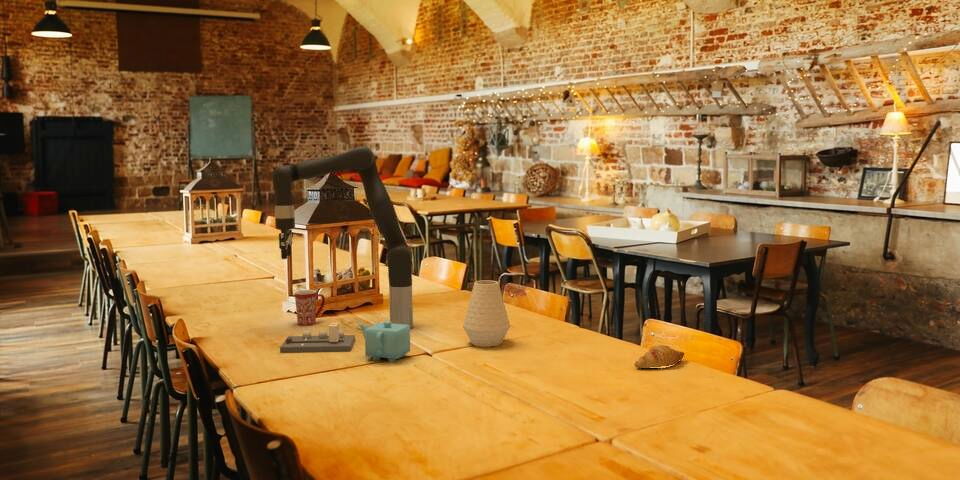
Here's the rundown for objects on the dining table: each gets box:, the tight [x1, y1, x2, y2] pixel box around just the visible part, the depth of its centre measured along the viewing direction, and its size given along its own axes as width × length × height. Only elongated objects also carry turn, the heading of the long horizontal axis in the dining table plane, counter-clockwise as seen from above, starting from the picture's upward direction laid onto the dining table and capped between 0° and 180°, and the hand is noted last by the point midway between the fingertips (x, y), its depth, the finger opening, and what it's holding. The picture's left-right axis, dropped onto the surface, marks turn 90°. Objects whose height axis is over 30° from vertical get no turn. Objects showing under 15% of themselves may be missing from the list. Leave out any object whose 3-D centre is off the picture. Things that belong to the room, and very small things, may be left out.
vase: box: [462, 279, 511, 348], centre depth 296 cm, size 18×17×23 cm
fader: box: [328, 322, 340, 342], centre depth 293 cm, size 3×5×6 cm, turn 3°
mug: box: [293, 289, 326, 327], centre depth 331 cm, size 13×9×14 cm
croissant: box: [634, 344, 685, 369], centre depth 267 cm, size 21×10×8 cm, turn 121°
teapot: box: [356, 320, 411, 363], centre depth 279 cm, size 18×16×13 cm
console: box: [279, 329, 356, 354], centre depth 295 cm, size 25×16×4 cm, turn 93°
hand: (286, 257), depth 318 cm, fingers open, 8 cm apart
